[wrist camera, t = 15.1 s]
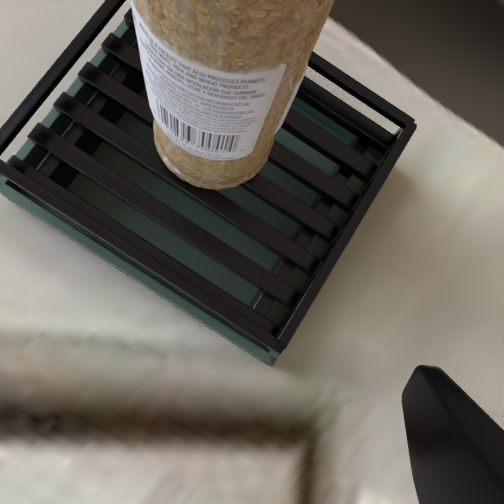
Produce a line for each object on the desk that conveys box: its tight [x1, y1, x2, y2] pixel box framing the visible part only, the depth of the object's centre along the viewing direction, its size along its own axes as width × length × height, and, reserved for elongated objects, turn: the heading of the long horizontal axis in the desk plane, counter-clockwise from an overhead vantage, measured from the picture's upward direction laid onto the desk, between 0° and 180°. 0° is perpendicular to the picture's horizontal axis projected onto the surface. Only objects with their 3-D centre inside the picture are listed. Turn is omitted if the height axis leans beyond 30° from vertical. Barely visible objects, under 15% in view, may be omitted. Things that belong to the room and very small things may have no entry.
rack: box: [0, 0, 417, 354], centre depth 19 cm, size 12×10×4 cm
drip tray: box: [0, 19, 388, 366], centre depth 20 cm, size 13×11×2 cm
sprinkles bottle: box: [130, 0, 334, 190], centre depth 12 cm, size 5×5×13 cm
